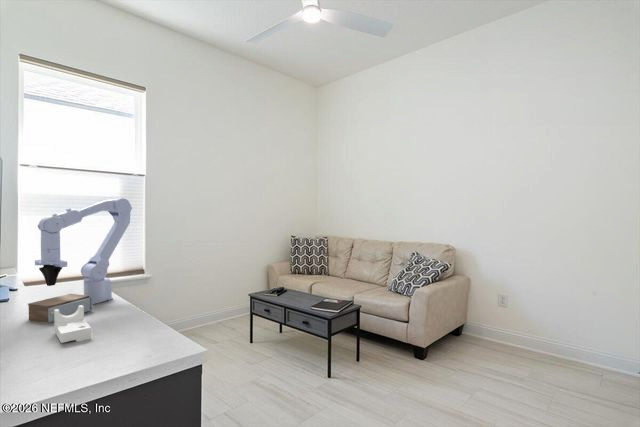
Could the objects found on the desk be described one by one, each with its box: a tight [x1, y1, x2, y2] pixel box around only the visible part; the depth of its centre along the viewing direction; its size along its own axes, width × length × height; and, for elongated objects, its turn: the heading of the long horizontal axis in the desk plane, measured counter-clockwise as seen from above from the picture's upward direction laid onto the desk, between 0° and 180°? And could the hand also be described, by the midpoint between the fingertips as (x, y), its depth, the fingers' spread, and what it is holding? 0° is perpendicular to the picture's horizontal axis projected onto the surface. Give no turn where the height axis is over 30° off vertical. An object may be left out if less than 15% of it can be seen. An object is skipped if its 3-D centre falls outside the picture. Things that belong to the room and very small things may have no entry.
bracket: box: [53, 305, 92, 344], centre depth 103 cm, size 13×7×8 cm, turn 44°
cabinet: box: [27, 293, 89, 324], centre depth 123 cm, size 14×10×6 cm
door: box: [47, 298, 92, 323], centre depth 121 cm, size 14×2×5 cm, turn 161°
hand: (51, 285), depth 128 cm, fingers closed
